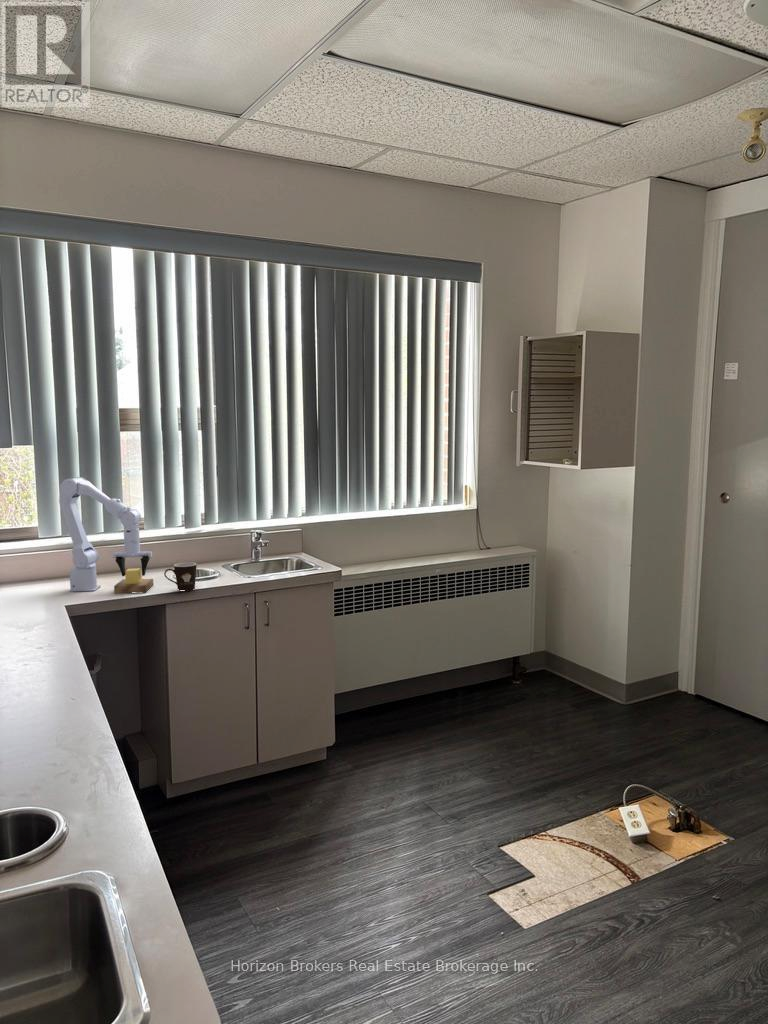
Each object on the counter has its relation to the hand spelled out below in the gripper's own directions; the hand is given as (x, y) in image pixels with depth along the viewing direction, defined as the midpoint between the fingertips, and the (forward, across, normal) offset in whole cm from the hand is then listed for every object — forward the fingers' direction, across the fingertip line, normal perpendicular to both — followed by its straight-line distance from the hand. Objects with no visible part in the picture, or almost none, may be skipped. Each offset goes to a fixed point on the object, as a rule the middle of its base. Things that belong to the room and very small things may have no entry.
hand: (133, 575), depth 302 cm
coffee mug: (+6, +19, -2) cm, 20 cm away
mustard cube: (+3, 0, 0) cm, 3 cm away
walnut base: (+6, 0, 0) cm, 6 cm away
